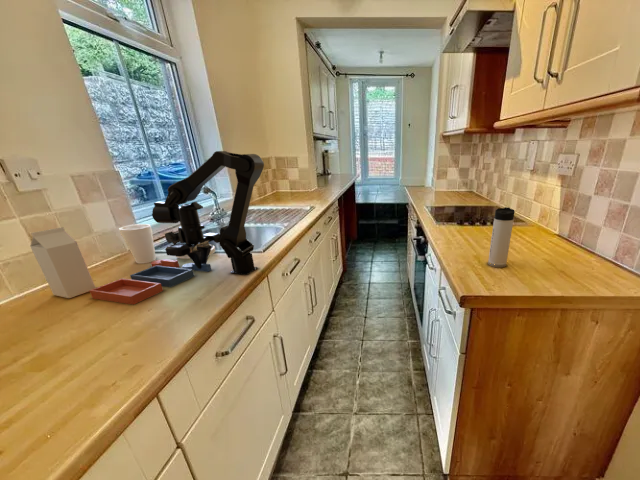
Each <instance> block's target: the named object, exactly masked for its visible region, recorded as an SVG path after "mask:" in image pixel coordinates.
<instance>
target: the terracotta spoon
mask: <svg viewBox="0 0 640 480" xmlns="http://www.w3.org/2000/svg"><path fill="white" fill-rule="evenodd" d="M150 264H151V267H153V266H156V265H157V266H166V267H175V268H181V267H180V264H179V260H177V259H176V260H175V259H166V258H163V259H156V260H154V261H152V262H150Z"/></svg>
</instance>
